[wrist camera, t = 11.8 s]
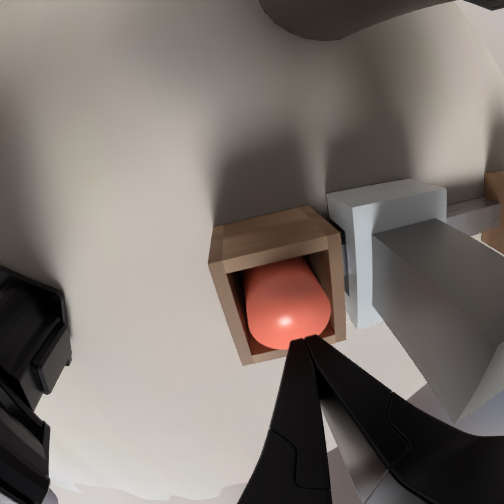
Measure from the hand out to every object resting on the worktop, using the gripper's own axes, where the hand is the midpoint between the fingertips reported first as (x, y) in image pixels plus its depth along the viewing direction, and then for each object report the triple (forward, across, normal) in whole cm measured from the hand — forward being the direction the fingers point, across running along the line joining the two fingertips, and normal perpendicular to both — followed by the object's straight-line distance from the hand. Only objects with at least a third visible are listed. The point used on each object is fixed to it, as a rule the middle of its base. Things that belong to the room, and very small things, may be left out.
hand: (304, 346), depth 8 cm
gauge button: (+6, 0, 0) cm, 6 cm away
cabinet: (+6, 0, 0) cm, 6 cm away
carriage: (+6, -6, 0) cm, 8 cm away
